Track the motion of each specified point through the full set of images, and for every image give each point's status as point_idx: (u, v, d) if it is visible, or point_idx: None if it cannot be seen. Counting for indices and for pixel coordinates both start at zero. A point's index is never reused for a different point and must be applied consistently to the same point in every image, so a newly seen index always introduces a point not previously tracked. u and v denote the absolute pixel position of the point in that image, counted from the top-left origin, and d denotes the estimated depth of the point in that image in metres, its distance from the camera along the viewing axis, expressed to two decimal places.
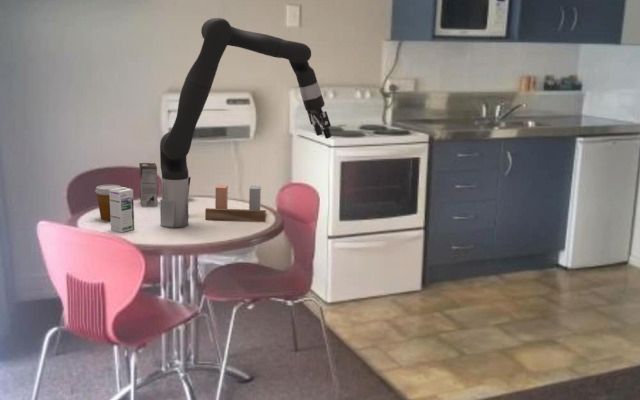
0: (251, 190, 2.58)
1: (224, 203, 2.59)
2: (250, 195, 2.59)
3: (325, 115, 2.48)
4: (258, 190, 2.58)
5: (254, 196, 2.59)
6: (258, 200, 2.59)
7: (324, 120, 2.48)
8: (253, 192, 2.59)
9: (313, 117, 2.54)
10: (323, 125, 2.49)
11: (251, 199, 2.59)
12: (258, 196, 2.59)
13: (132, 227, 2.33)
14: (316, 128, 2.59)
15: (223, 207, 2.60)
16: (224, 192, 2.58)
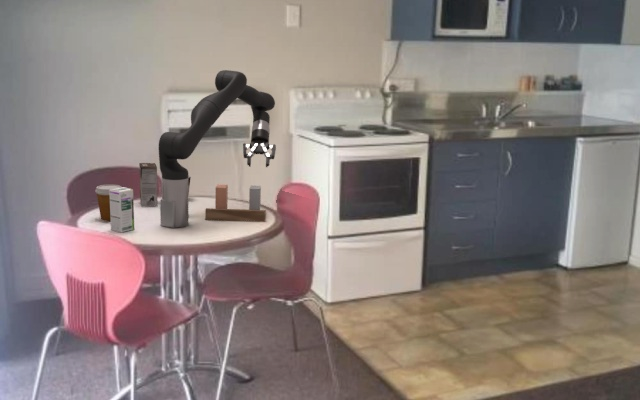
0: (251, 190, 2.58)
1: (224, 203, 2.59)
2: (250, 195, 2.59)
3: (275, 149, 2.81)
4: (258, 190, 2.58)
5: (254, 196, 2.59)
6: (258, 200, 2.59)
7: None
8: (253, 192, 2.59)
9: (256, 146, 2.79)
10: (272, 153, 2.78)
11: (251, 199, 2.59)
12: (258, 196, 2.59)
13: (132, 227, 2.33)
14: (250, 158, 2.77)
15: (223, 207, 2.60)
16: (224, 192, 2.58)
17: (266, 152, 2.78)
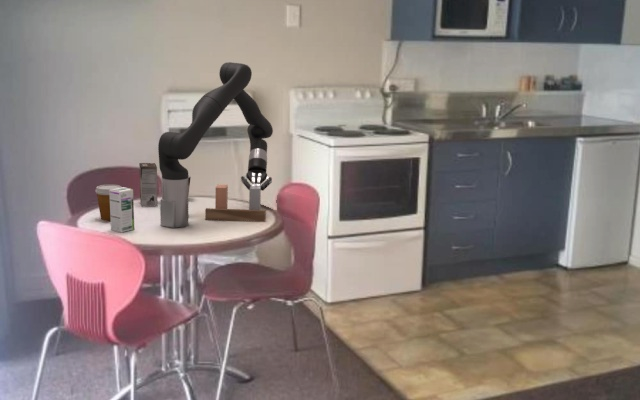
0: (251, 190, 2.58)
1: (224, 203, 2.59)
2: (250, 195, 2.59)
3: (270, 182, 2.70)
4: (258, 190, 2.58)
5: (254, 196, 2.59)
6: (258, 200, 2.59)
7: (267, 183, 2.69)
8: (253, 192, 2.59)
9: (255, 175, 2.70)
10: (262, 184, 2.68)
11: (251, 199, 2.59)
12: (258, 196, 2.59)
13: (132, 227, 2.33)
14: None
15: (223, 207, 2.60)
16: (224, 192, 2.58)
17: (258, 183, 2.68)
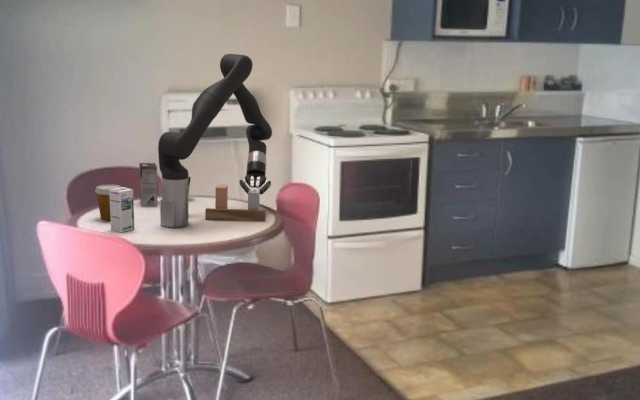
0: (250, 194, 2.51)
1: (224, 203, 2.59)
2: (249, 199, 2.51)
3: (269, 186, 2.63)
4: (257, 194, 2.51)
5: (253, 200, 2.52)
6: (257, 204, 2.52)
7: (266, 187, 2.62)
8: (252, 197, 2.51)
9: (253, 179, 2.62)
10: (261, 188, 2.61)
11: (250, 203, 2.52)
12: (257, 200, 2.52)
13: (132, 227, 2.33)
14: None
15: (223, 207, 2.60)
16: (224, 192, 2.58)
17: (257, 187, 2.61)
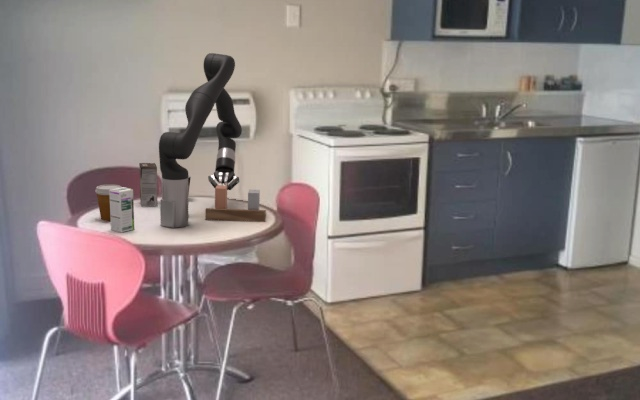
0: (250, 194, 2.51)
1: (224, 204, 2.58)
2: (249, 199, 2.51)
3: (237, 182, 2.69)
4: (257, 194, 2.51)
5: (253, 200, 2.52)
6: (257, 204, 2.52)
7: (234, 183, 2.67)
8: (252, 197, 2.51)
9: (222, 175, 2.68)
10: (229, 184, 2.66)
11: (250, 203, 2.52)
12: (257, 200, 2.52)
13: (132, 227, 2.33)
14: None
15: (223, 208, 2.58)
16: (224, 193, 2.57)
17: (225, 182, 2.66)
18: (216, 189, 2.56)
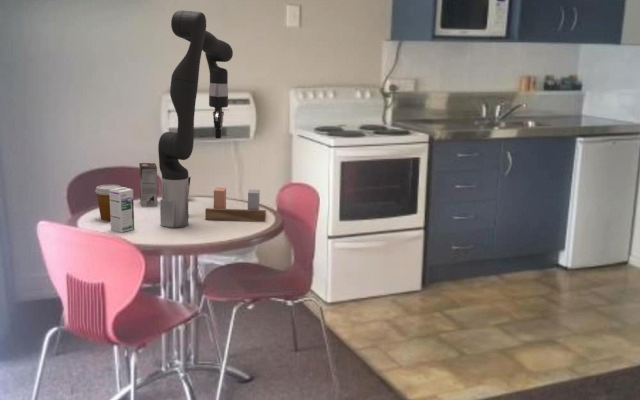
0: (250, 194, 2.51)
1: (222, 206, 2.54)
2: (249, 199, 2.51)
3: (217, 120, 2.64)
4: (257, 194, 2.51)
5: (253, 200, 2.52)
6: (257, 204, 2.52)
7: (215, 123, 2.65)
8: (252, 197, 2.51)
9: None
10: None
11: (250, 203, 2.52)
12: (257, 200, 2.52)
13: (132, 227, 2.33)
14: None
15: None
16: (222, 195, 2.53)
17: None
18: (215, 191, 2.52)
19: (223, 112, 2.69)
